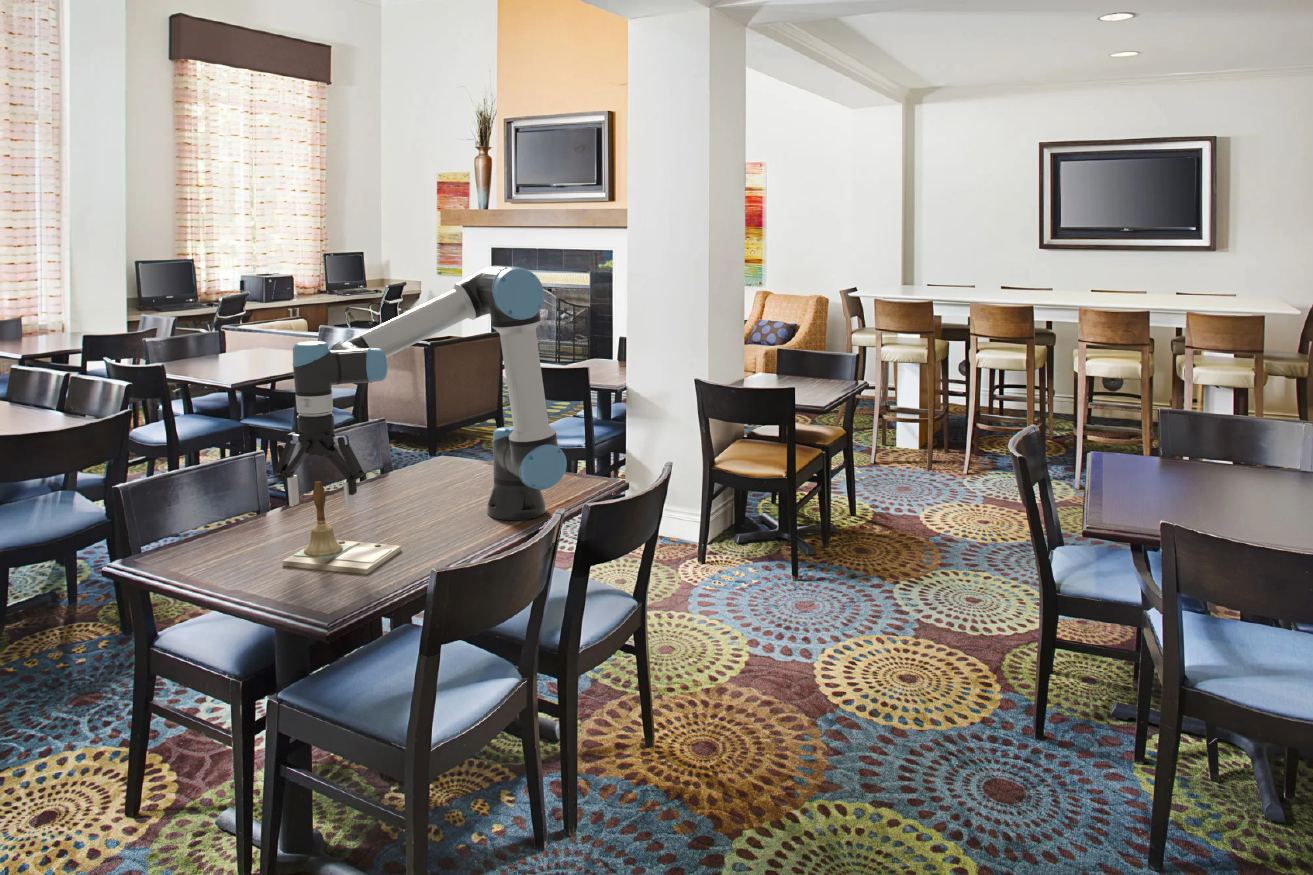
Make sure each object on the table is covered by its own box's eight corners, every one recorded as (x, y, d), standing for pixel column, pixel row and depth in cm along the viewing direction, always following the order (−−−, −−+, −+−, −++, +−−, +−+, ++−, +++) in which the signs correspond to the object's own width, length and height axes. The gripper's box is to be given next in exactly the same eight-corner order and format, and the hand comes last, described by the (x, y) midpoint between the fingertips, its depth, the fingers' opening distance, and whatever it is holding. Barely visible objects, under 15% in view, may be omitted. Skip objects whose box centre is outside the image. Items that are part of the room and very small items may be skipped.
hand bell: (305, 558, 211) (301, 487, 207) (302, 546, 218) (298, 478, 215) (344, 553, 214) (341, 484, 211) (340, 542, 221) (336, 475, 218)
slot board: (401, 550, 221) (400, 544, 221) (367, 574, 206) (366, 567, 205) (322, 543, 225) (321, 537, 225) (282, 565, 210) (282, 559, 209)
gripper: (253, 413, 208) (261, 507, 213) (359, 419, 203) (365, 515, 208) (273, 407, 215) (281, 498, 220) (376, 412, 211) (381, 505, 215)
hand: (322, 506), depth 214 cm, fingers open, 13 cm apart
